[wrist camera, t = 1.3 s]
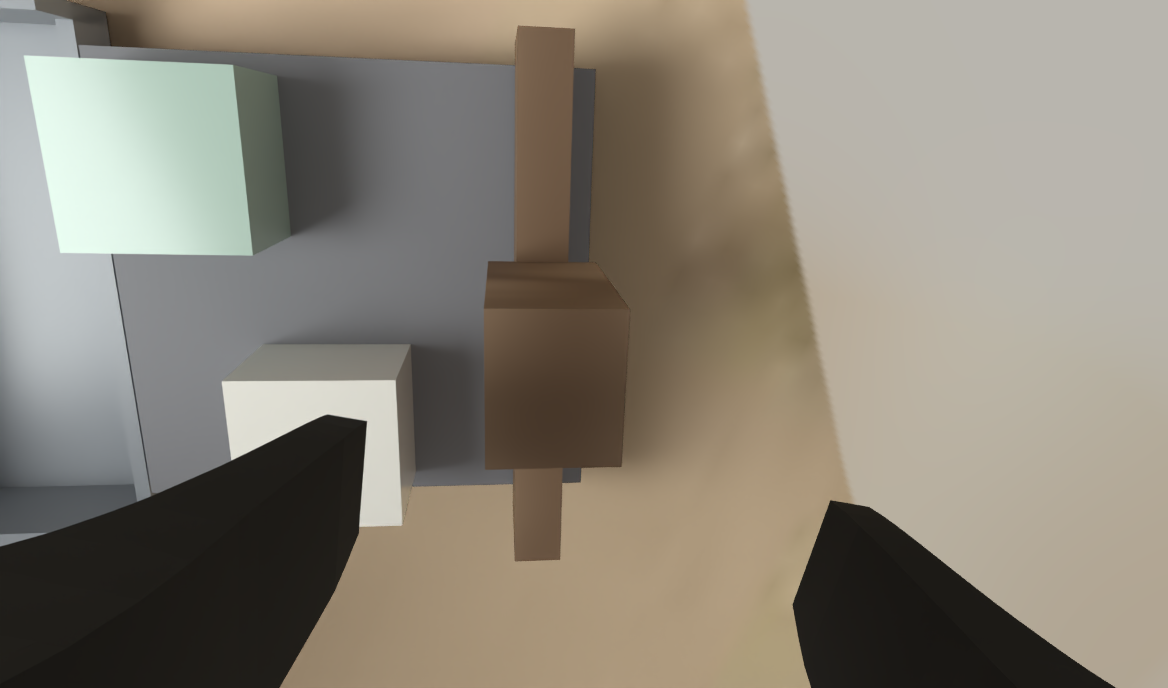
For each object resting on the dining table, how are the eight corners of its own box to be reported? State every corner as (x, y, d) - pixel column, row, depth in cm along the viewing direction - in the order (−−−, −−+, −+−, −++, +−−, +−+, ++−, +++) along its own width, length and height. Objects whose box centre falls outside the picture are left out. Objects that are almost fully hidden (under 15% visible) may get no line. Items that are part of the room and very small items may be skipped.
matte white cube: (276, 474, 20) (240, 530, 18) (263, 344, 19) (221, 381, 16) (415, 471, 21) (402, 525, 18) (410, 344, 20) (395, 380, 17)
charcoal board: (181, 461, 22) (151, 493, 20) (121, 53, 19) (78, 45, 17) (574, 453, 23) (580, 482, 22) (586, 75, 20) (595, 68, 18)
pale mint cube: (130, 233, 18) (60, 253, 15) (104, 67, 17) (23, 55, 14) (291, 236, 18) (252, 255, 16) (276, 76, 17) (232, 64, 14)
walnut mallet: (491, 503, 21) (486, 694, 14) (488, 41, 17) (481, -21, 10) (573, 501, 21) (609, 686, 14) (588, 46, 18) (647, -11, 11)
